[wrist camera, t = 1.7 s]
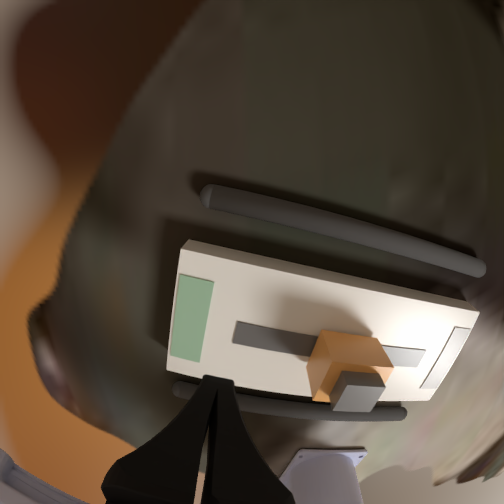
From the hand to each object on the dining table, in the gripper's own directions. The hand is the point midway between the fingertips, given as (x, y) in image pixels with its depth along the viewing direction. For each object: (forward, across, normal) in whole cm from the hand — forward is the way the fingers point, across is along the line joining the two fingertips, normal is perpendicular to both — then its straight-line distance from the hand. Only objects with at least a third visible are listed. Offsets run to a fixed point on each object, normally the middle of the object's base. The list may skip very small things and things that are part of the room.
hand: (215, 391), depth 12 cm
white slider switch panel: (+8, -8, 0) cm, 11 cm away
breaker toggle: (+6, -8, 0) cm, 9 cm away
